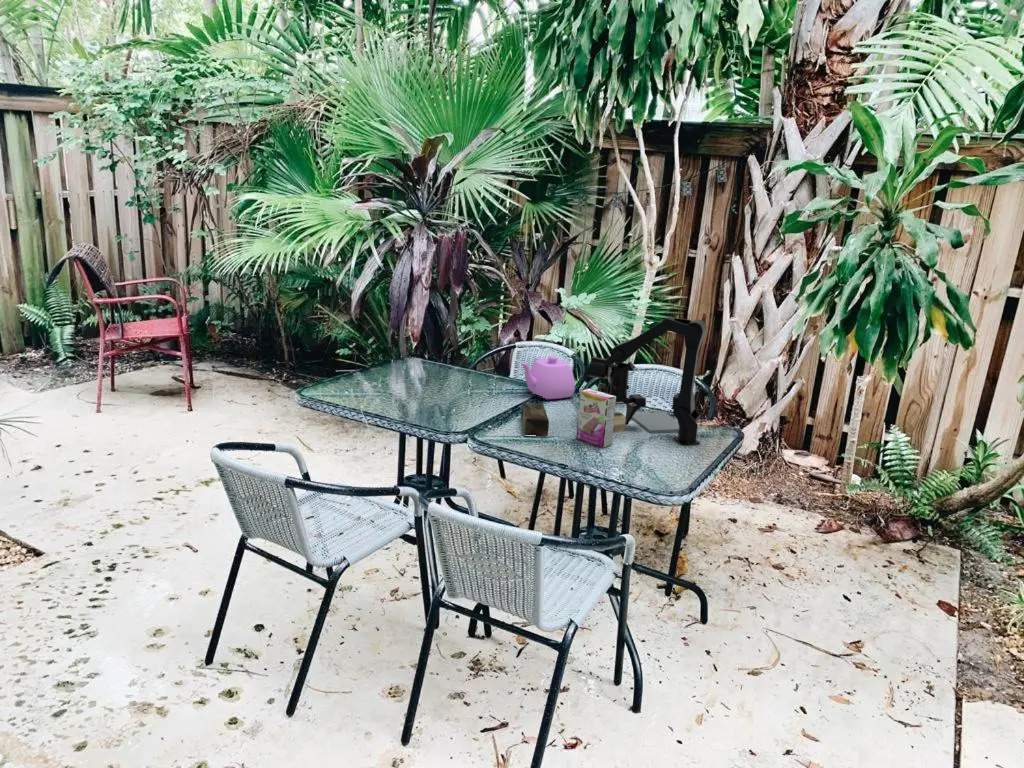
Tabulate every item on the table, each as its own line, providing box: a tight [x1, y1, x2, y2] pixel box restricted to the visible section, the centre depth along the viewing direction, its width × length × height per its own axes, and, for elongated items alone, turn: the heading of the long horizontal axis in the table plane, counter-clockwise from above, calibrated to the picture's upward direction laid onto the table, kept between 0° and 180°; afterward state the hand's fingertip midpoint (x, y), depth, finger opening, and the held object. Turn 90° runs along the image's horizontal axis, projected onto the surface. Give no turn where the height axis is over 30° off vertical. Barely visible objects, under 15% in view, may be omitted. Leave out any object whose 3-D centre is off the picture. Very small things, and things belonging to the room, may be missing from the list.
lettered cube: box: [613, 411, 626, 432], centre depth 255 cm, size 5×5×5 cm
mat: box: [631, 411, 679, 434], centre depth 263 cm, size 18×14×1 cm
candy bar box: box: [575, 388, 617, 449], centre depth 239 cm, size 11×5×16 cm, turn 47°
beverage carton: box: [520, 401, 550, 436], centre depth 252 cm, size 8×19×7 cm, turn 3°
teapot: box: [519, 355, 576, 400], centre depth 288 cm, size 23×21×15 cm
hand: (615, 425), depth 255 cm, fingers open, 8 cm apart
